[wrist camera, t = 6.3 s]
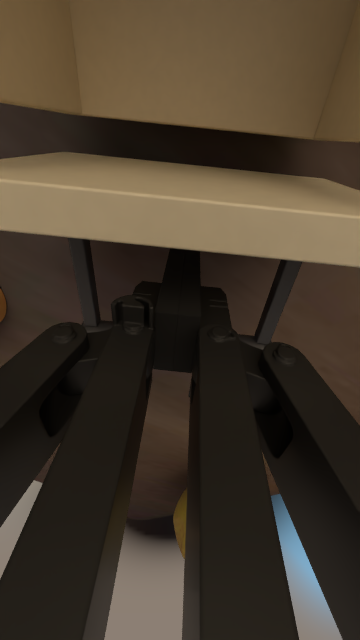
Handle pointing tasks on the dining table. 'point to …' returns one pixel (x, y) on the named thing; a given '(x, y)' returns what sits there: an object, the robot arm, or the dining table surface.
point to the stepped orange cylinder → (2, 305)
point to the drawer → (190, 111)
